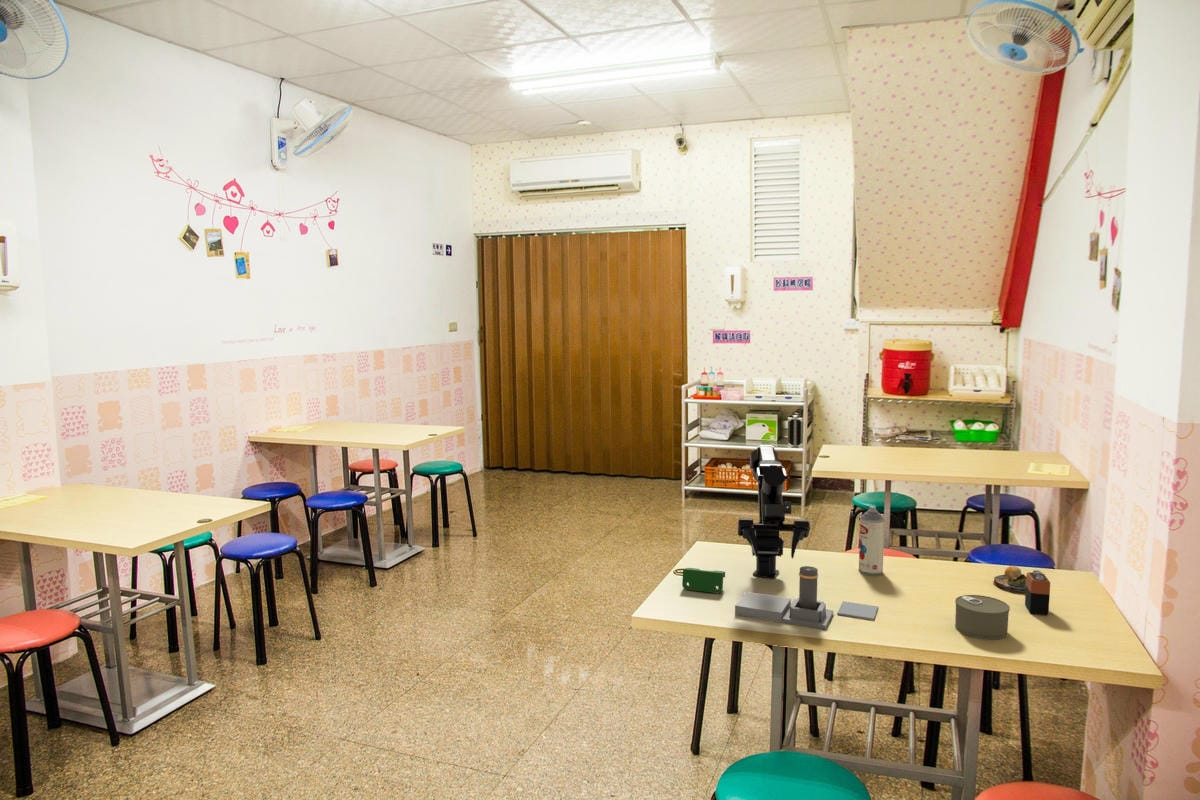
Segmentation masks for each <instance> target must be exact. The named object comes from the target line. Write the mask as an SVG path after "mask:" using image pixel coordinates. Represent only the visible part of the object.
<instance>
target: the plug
mask: <svg viewBox="0 0 1200 800" xmlns="http://www.w3.org/2000/svg"><path fill="white" fill-rule="evenodd" d="M798 577H799V582H798V583H799V584H798V585H799V588H798V589H799V591H798V592H799V593H798V596H799V597H798V598H799V608H804V609H811V610H817V601H818V578H819V574H818V568H817V567H814V566H810V565H809V566H808V565H805V566H801V567H799V572H798Z"/></svg>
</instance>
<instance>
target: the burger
mask: <svg viewBox="0 0 1200 800" xmlns="http://www.w3.org/2000/svg"><path fill="white" fill-rule="evenodd" d="M993 585H994V586H995V587H996V588H998V589H1000V590H1003V591H1005V592H1011V593H1014V594H1022V595H1025V593H1026V574H1024V573H1023V574H1022V570H1021V568H1020V567H1019V566H1017V565H1014V566H1013V565H1012V566H1011V565H1010V564H1008V567H1006V568H1005V569H1004V574H1000V575H997V576H994V577H993Z"/></svg>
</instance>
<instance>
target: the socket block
mask: <svg viewBox="0 0 1200 800" xmlns="http://www.w3.org/2000/svg"><path fill="white" fill-rule="evenodd" d="M826 605H827V604H826V602H825V601H821V600H817V610H811V609H804V608H799V597H797V598H794V599H793V601H792V598H790V597H784V596H776V595H772V594H771V595H770V594H764V593H758V592H757V593H756V592H751V591H750V592H749V591H746V592H745V593H744V594H743V595H742V597H741V598H740V599H739V600H738V601H737V603H736V604H735V605H734V616H740V615H741V617H746V618H752V619H753V618H754V619H759V620H766V621H771V622H776V623H783V624H789V625H796V626H802V627H807V628H812V629H814V628H815V629H818V630H819V629H820V630H827V628H828V627H829V626H828V625H829V623H830V622H831V620H832V618H833V615H834V610H832V609H827V606H826Z"/></svg>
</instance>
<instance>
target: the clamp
mask: <svg viewBox="0 0 1200 800" xmlns="http://www.w3.org/2000/svg"><path fill="white" fill-rule="evenodd" d="M724 578H726V571H722V570H703V569H700V568H694V567H686V568H683V569H682V583H681V584H682V588H683V589H684V590H688V591H696V592H706V593H713V594H718V593H720V592H722V591H723V588H724Z"/></svg>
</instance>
